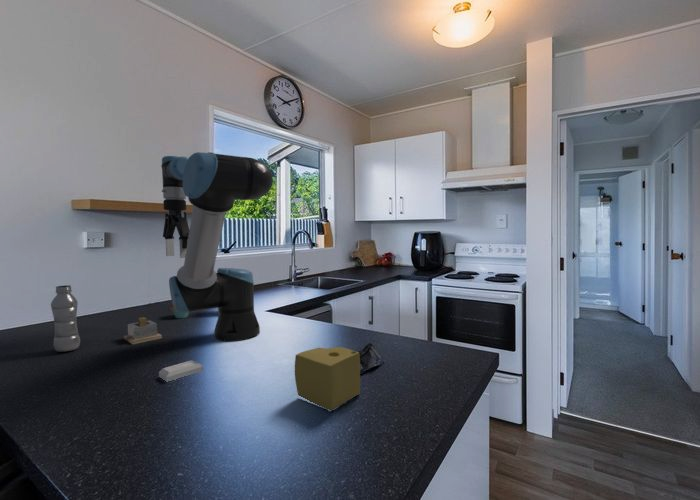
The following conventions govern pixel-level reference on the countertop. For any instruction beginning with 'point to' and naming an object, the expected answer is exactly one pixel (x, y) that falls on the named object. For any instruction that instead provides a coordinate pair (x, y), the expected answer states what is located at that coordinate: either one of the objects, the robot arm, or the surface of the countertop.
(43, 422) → the countertop surface
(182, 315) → the cupcake
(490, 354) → the countertop surface
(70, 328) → the plastic bottle
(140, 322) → the tan square plate
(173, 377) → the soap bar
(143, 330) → the grey square frame
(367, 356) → the snack package
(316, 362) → the cheese
